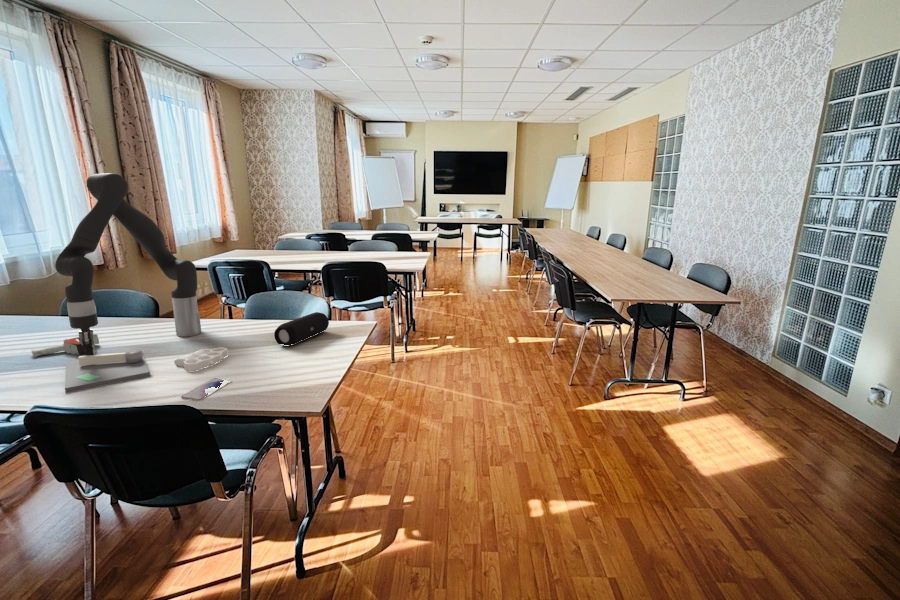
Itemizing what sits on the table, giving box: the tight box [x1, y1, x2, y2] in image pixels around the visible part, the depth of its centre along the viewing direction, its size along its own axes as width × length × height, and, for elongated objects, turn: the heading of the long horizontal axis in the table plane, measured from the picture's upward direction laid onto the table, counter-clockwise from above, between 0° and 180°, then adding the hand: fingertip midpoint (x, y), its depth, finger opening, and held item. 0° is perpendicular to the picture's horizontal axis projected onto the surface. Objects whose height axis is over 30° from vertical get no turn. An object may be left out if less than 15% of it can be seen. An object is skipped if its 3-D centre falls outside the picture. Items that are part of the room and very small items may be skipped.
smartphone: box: [180, 378, 224, 401], centre depth 141 cm, size 7×1×15 cm
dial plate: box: [64, 349, 151, 394], centre depth 153 cm, size 22×28×2 cm
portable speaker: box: [273, 311, 330, 345], centre depth 190 cm, size 26×10×10 cm, turn 158°
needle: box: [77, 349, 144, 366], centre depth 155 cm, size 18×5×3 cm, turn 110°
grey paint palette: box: [174, 346, 229, 372], centre depth 163 cm, size 3×18×15 cm
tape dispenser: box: [31, 333, 100, 358], centre depth 170 cm, size 18×5×20 cm
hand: (90, 359), depth 156 cm, fingers closed
